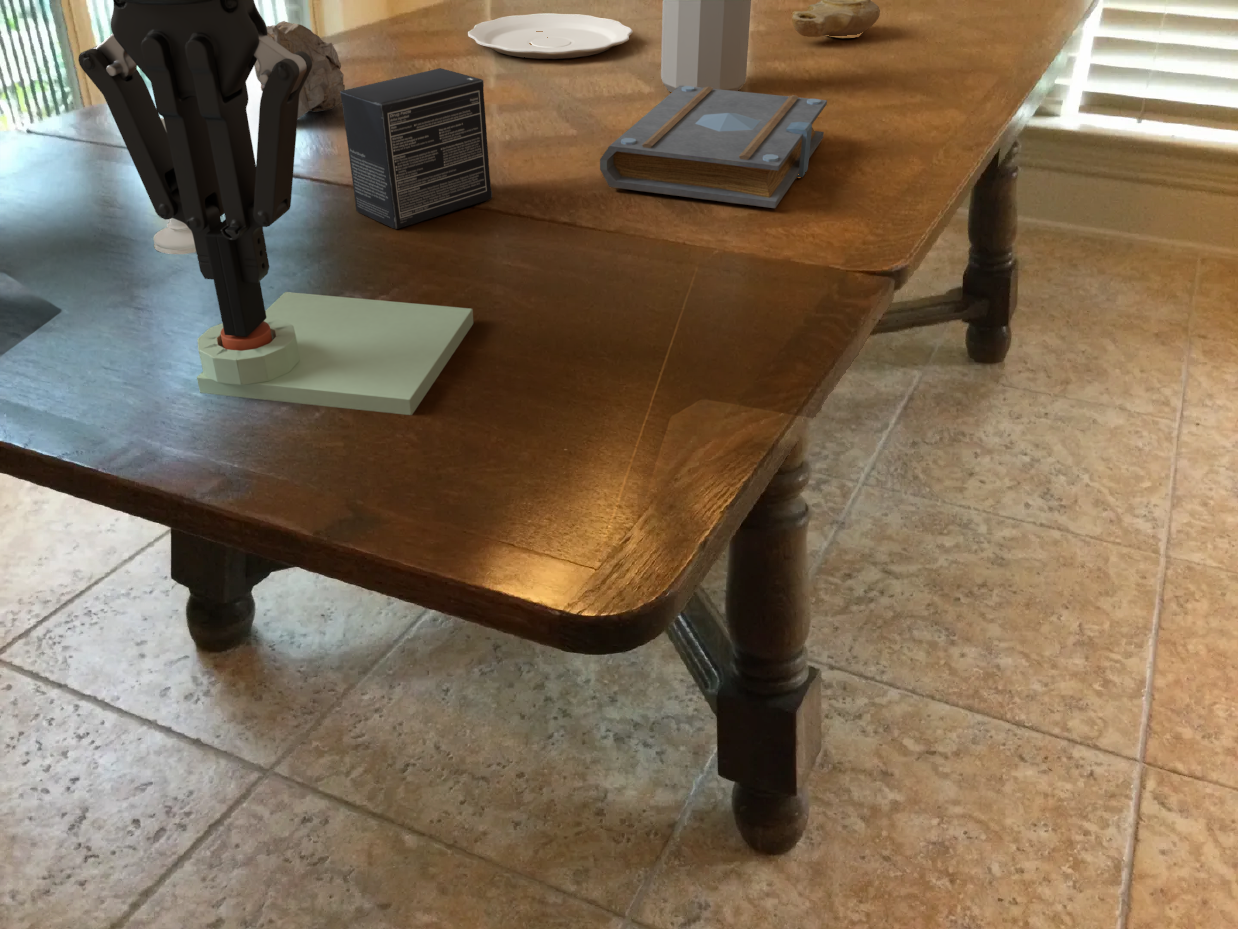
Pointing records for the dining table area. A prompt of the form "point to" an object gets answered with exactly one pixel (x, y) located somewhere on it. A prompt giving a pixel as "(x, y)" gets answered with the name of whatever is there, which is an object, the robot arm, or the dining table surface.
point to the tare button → (248, 339)
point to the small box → (417, 146)
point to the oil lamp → (836, 18)
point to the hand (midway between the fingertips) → (245, 325)
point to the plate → (550, 35)
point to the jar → (705, 43)
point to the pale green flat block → (339, 353)
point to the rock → (325, 71)
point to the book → (717, 146)
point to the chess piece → (174, 236)
